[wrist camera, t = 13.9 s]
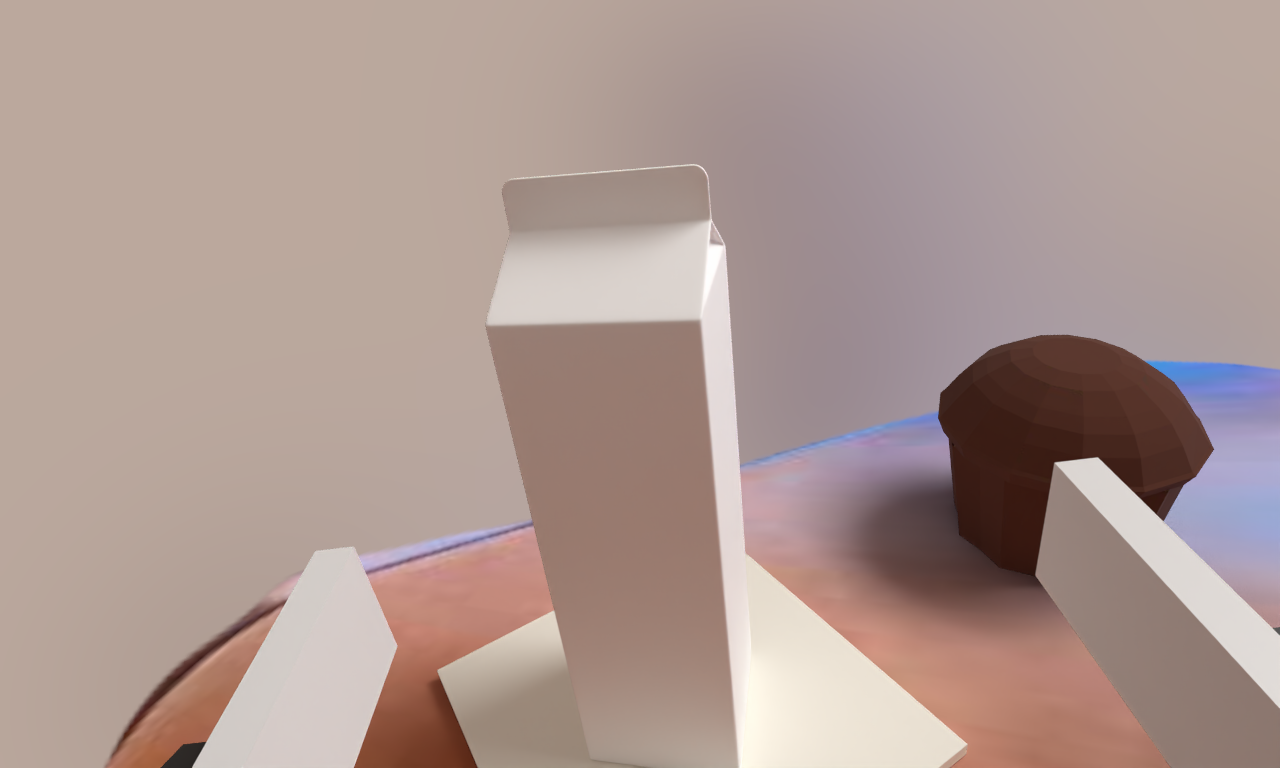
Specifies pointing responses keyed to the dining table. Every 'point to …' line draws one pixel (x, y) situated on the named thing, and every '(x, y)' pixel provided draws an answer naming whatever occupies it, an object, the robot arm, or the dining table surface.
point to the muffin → (1060, 435)
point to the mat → (776, 704)
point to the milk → (631, 453)
